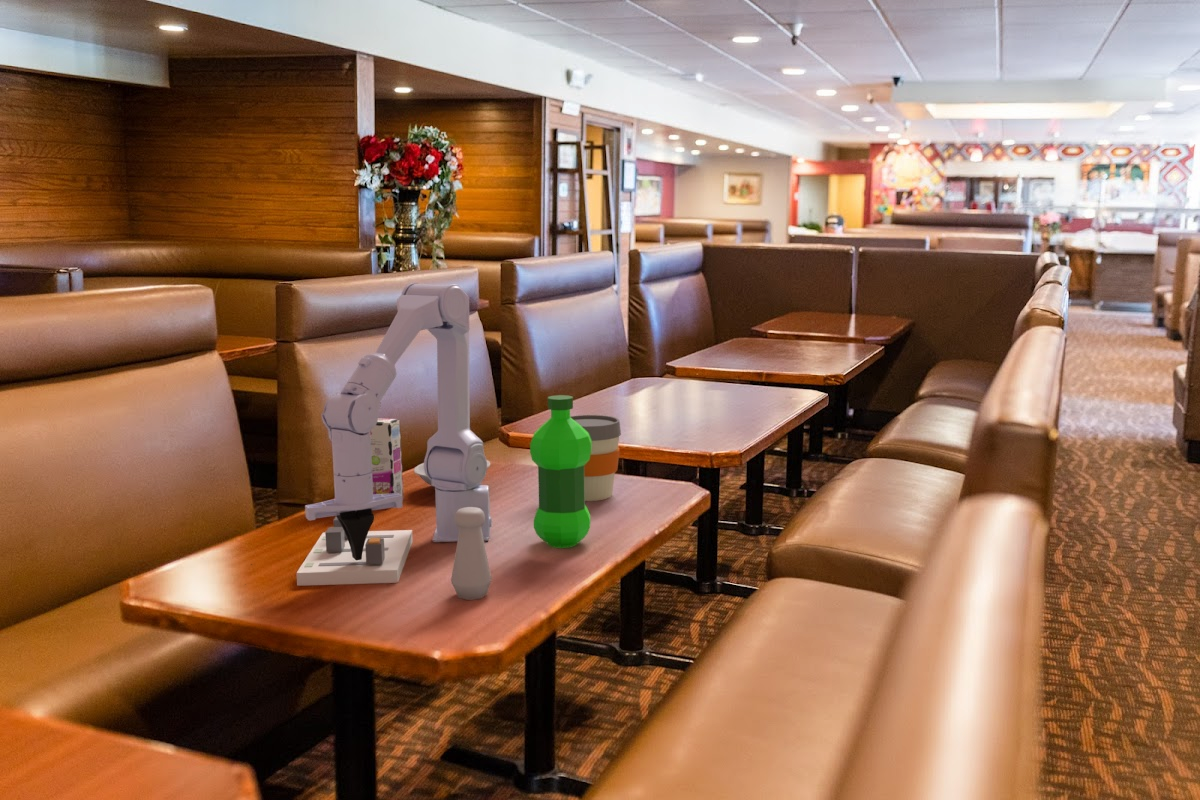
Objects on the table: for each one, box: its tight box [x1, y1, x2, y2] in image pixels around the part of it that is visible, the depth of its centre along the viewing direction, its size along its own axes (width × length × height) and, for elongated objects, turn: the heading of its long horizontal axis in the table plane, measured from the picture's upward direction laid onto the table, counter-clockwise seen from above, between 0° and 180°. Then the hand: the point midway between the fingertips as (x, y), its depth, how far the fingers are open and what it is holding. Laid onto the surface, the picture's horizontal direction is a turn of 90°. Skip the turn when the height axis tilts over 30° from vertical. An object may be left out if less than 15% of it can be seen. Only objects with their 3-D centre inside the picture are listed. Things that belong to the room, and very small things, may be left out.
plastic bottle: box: [529, 394, 592, 549], centre depth 179 cm, size 10×10×25 cm
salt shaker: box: [450, 507, 492, 601], centre depth 156 cm, size 6×6×13 cm
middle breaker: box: [325, 526, 345, 552], centre depth 172 cm, size 2×3×3 cm
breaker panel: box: [296, 529, 414, 586], centre depth 172 cm, size 15×21×2 cm
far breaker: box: [332, 516, 347, 539], centre depth 178 cm, size 2×3×3 cm
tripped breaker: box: [365, 538, 385, 565], centre depth 165 cm, size 2×3×4 cm
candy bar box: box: [370, 417, 404, 502], centre depth 207 cm, size 11×5×16 cm, turn 77°
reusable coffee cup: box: [570, 414, 622, 502], centre depth 211 cm, size 13×13×15 cm
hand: (357, 558), depth 165 cm, fingers closed
